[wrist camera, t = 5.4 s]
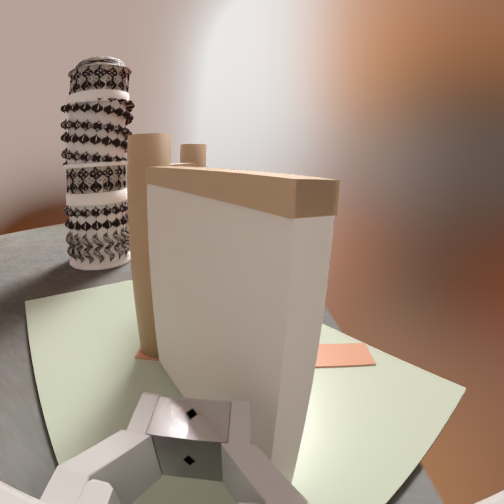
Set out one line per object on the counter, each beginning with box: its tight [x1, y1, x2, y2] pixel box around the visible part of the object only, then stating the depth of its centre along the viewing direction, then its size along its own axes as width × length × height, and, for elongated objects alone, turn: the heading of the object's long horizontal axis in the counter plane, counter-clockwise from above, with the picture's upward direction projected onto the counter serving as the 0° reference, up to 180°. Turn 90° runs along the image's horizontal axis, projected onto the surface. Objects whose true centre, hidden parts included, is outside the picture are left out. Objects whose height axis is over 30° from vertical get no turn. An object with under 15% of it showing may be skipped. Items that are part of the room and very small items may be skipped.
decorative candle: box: [61, 56, 134, 270], centre depth 35 cm, size 9×9×25 cm
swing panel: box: [145, 166, 340, 483], centre depth 12 cm, size 11×1×11 cm, turn 34°
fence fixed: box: [127, 133, 206, 358], centre depth 24 cm, size 16×2×14 cm, turn 0°
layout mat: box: [25, 280, 466, 504], centre depth 20 cm, size 29×20×1 cm
